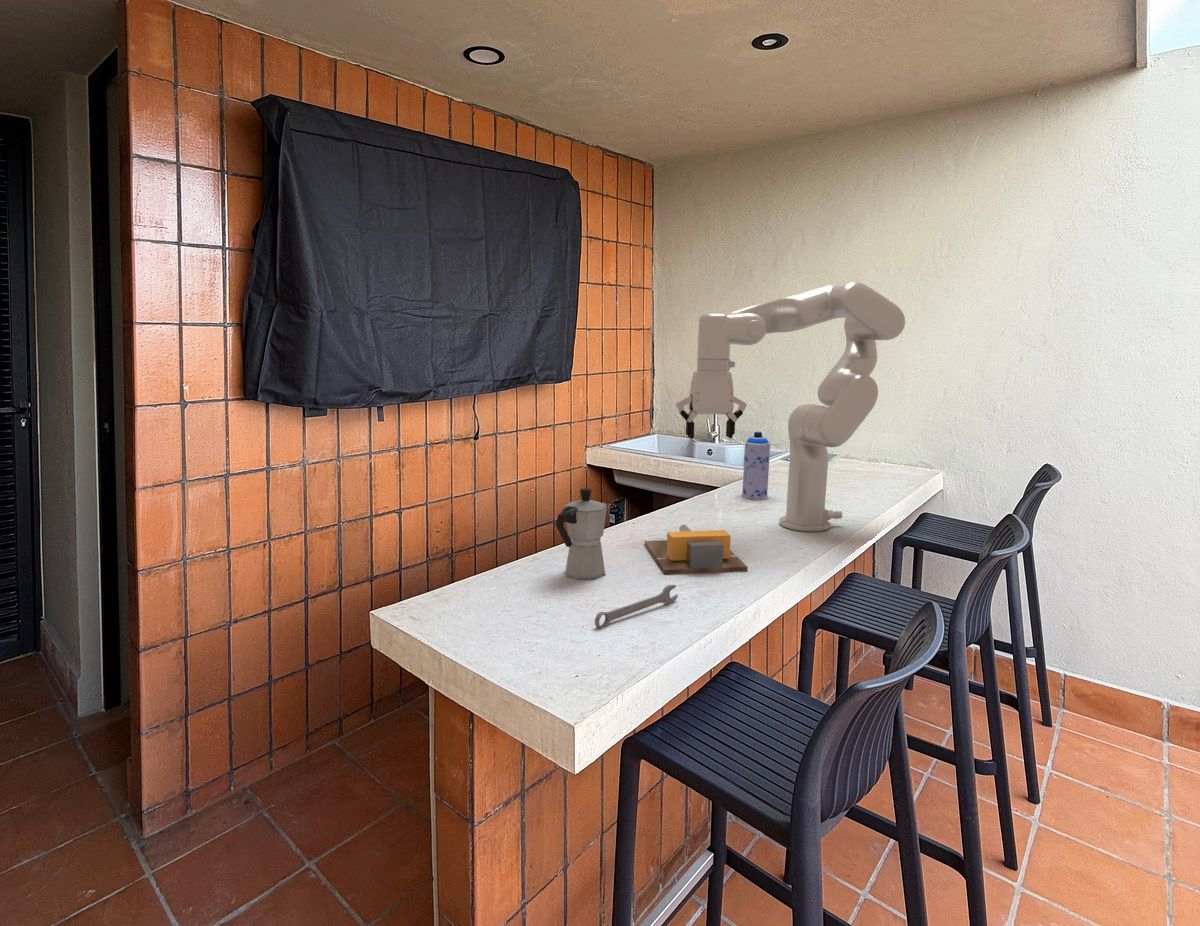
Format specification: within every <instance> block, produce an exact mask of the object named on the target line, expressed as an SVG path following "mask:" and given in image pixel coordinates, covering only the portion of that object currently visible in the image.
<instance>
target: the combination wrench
mask: <svg viewBox="0 0 1200 926" xmlns="http://www.w3.org/2000/svg"><path fill="white" fill-rule="evenodd" d="M676 587H677V585H676V584H668V585H666V586H664V588H663V589H662V591H661V592H660V593H659V594H658V595H657V594H656V595H655V596H652V597H649V598H645V599H643V600H639V601H637V602H634V603H630V604H628V605H625V606H621V607H620V608H616V609H613V610H609V611H600V612H598V613H597V614H596V616H595V618H594V626H595V627H596V628H598V629H603V628H606V627H608V625H609V624H610V623H611V622H612V621H614V620H617V619H619V618H622V617H625V616H628V615H630V614H633V613H635V612H636V613H637V612H639V611H641V610H643V609H647V608H650V607H652V606H655V605H657V604H665V605H667V606H668V605H671V604H674V603H675V602H676V600H677V599H678V596H679V595H678V594H675V595H673V596H671V591H672V590H674V589H675V588H676ZM603 616H604V621H603V623H602V624H601V625H600V620H601V618H602V617H603Z"/></svg>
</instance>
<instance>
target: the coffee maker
mask: <svg viewBox="0 0 1200 926" xmlns="http://www.w3.org/2000/svg"><path fill="white" fill-rule="evenodd" d="M579 490H580V491H579V492H580V498H581V499H579V500H575V501H570V502H568V503H567V504H565V505H564V507H563V508H562V510H561V512H560V513H559V514H558V515H557V519H556V521H555V527H556V528H557V531H558V533H559V534H560V535H559V536H560V537H561V539H562V541H563V543H564V545H565V547H567V548H568V553H567V559H566V565H565V575H566V577H568V578H571V579H574V580H577V581H595V580H598V579H600V578H603V577H605V576H606V569H605V562H604V555H603V550H602V549H603V548H602V542H601V538H602V537H603V536H604V532H605V523H606V516H607V510H608V505H607V503H606V502H600V501H596V500H593V499H591V494H592V489H591V488H589V487H588V488H587V487H584V488H580V489H579ZM565 523H566V528H565ZM566 529H567V530H566Z"/></svg>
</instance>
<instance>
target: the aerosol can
mask: <svg viewBox="0 0 1200 926" xmlns="http://www.w3.org/2000/svg"><path fill="white" fill-rule="evenodd" d="M753 433H754V434H753V435H752V436H750V437H749V438H748V439H747V440H746V441H745V443H744V457H743V473H742V474H743V475H742V494H741V498H742V499H744V498H745V500H748V499H749V500H748V501H765V500H768V498H769V496H768V491H769V490H768V489H769V471H770V455H771V443H770V441H769V440H768V439H767V438H766V437H764V436H763V432H762V431H755V432H753Z"/></svg>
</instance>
